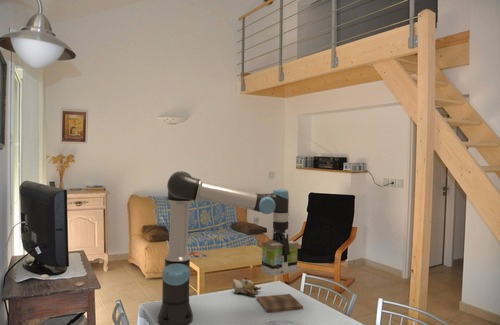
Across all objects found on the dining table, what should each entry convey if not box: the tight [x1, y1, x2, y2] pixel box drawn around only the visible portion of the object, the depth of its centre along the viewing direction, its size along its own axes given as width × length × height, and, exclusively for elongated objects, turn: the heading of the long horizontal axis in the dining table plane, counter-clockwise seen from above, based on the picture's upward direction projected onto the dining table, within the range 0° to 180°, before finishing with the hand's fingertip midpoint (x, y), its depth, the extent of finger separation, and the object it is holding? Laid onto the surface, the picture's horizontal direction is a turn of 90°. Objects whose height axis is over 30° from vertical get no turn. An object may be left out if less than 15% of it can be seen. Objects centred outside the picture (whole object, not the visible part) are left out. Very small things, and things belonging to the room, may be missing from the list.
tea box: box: [261, 239, 299, 277], centre depth 196 cm, size 15×10×15 cm
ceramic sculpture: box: [232, 277, 262, 297], centre depth 212 cm, size 11×9×15 cm
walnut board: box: [256, 293, 304, 314], centre depth 197 cm, size 18×17×2 cm
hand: (280, 265), depth 197 cm, fingers closed on tea box, 11 cm apart
